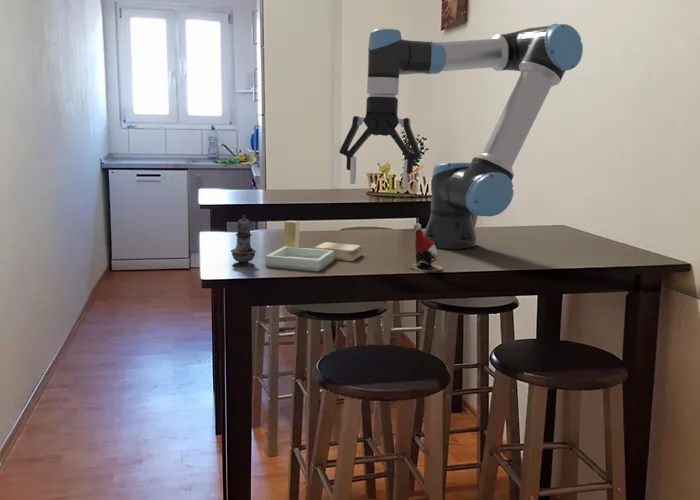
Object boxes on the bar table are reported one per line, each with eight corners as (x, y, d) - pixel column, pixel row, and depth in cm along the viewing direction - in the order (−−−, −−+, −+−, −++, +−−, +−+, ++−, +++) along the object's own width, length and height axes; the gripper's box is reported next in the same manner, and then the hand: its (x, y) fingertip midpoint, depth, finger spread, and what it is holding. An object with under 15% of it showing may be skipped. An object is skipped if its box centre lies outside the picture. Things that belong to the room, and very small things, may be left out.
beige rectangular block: (361, 256, 182) (361, 245, 182) (352, 262, 175) (353, 250, 174) (324, 253, 185) (324, 242, 184) (314, 259, 177) (314, 247, 177)
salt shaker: (231, 262, 168) (231, 212, 165) (256, 263, 168) (257, 213, 166) (229, 268, 162) (229, 216, 160) (255, 268, 162) (256, 216, 160)
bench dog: (298, 251, 184) (299, 221, 182) (295, 253, 181) (295, 222, 179) (287, 250, 184) (288, 220, 183) (283, 252, 182) (284, 221, 180)
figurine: (459, 253, 169) (431, 224, 163) (438, 287, 167) (409, 259, 161) (436, 247, 176) (408, 219, 170) (416, 280, 174) (387, 253, 167)
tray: (334, 260, 174) (334, 250, 174) (319, 271, 162) (319, 260, 161) (284, 256, 177) (284, 246, 177) (265, 266, 165) (265, 255, 165)
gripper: (435, 98, 170) (430, 186, 175) (337, 95, 176) (334, 181, 181) (431, 97, 163) (426, 189, 167) (328, 94, 169) (326, 183, 173)
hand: (378, 185), depth 174 cm, fingers open, 12 cm apart
